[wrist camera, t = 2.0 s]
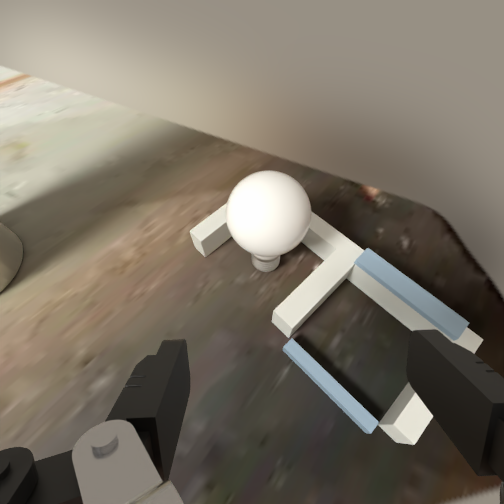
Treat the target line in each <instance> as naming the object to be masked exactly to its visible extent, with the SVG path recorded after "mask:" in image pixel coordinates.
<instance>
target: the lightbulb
mask: <svg viewBox="0 0 504 504" xmlns="http://www.w3.org/2000/svg"><path fill="white" fill-rule="evenodd" d="M226 222H227V226H228V229H229V231H230V234H231V235H232V237H233V239H234V240H235V241H236V242H237V244H238V245H239V246H241V247H242V248H243V249H245V250H246V251H248V252H250V253H251V255H252V263H253V265H254V267H255V268H256V269H258V270H260V271H263V272H269V271H272V270H274V269H275V268H276V267H277V266H278V265H279V262H280V255H282V254H285V253H287V252H289V251H291V250H292V249H294V248H295V247H296V246H297V245H298V244H299V243H300V242H301V241H302V240H303V238H304V237H305V235H306V233H307V231H308V229H309V226H310V222H311V205H310V201H309V198H308V195H307V193H306V191H305V190H304V188H303V187H302V186H301V185H300V184H299V183H298V182H297V181H296V180H295V179H294V178H292V177H291V176H289V175H287V174H285V173H282V172H278V171H260V172H256V173H253V174H251V175H249V176H247V177H245V178H244V179H243V180H241V181H240V182H239V183H238V184H237V185H236V186H235V188H234V189H233V191H232V192H231V194H230V196H229V199H228V202H227V206H226Z"/></svg>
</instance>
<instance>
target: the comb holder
mask: <svg viewBox="0 0 504 504" xmlns="http://www.w3.org/2000/svg"><path fill="white" fill-rule="evenodd" d="M226 206H227V203H226V204H225V205H223V206H222V207H221V208H220V209H218V210H217V211H216V212H214V213H213V214H212V215H210V216H209V217H208V218H206V219H205V220H204V221H202V222H201V223H200V224H198V225H197V226H196V227H194V228H193V229H192V230H190V234H191V237H192V240H193V242H194V245H195V248H196V249H197V250H198V251H199V252H200V253H201V254H202V255H203V256H204V257H207V256H208V255H209V254H211V253H212V252H213V251H214V250H216V249H217V248H218V247H219V246H220V245H222V244H223V243H224V242H225V241H227V240H228V239H229V238H230V237H232V235H231V234H230V231H229V229H228V226H227V222H226ZM301 242H302V243H303V244H304V245H306V246H307V247H308V248H309V249H311V250H312V251H313V252H314V253H316V254H317V255H318V256H319V257H321V258H322V259H323V260H324V262H323V263H322V264H321V265H320V266H319V267H318V268H317V269H316V270H315V271H314V272H313V273H312V274H311V275H310V276H309V277H308V278H306V279H305V280H304V281H303V282H302V283H301V284H300V285H299V286H298V287H297V288H296V289H295V290H294V291H293V292H292V293H291V294H290V295H289V296H288V297H287V298H286V299H285V300H284V301H283V302H282V303H281V304H280V305H279V306H278V307H277V308H276V309H275V310H274V311H273V317H272V323H273V324H275V325H276V326H277V327H278V328H279V329H280V330H281V331H282V332H283V333H284V334H285V335H286V336H287V337H288V338H289V337H290V336H291V335H292V334H293V333H294V332H295V331H296V330H297V329H298V328H299V327H300V326H301V325H302V324H303V323H304V322H305V321H306V320H307V319H308V318H309V317H310V316H311V314H312V313H313V312H314V311H315V310H316V309H317V308H318V307H319V306H320V305H321V304H322V303H323V302H324V301H325V300H326V299H327V298H328V297H329V296H330V295H331V294H332V292H333V291H334V290H335V289H336V288H337V287H338V286H339V285H340V284H341V283H342V282H343V281H344V280H345V279H346V278H347V279H348V280H349V281H350V282H352V283H353V284H354V285H355V286H357V287H358V288H359V289H360V290H362V291H363V292H364V293H365V294H367V295H368V296H369V297H370V298H371V299H373V300H374V301H375V302H376V303H378V304H379V305H380V306H381V307H383V308H384V309H385V310H386V311H388V312H389V313H390V314H391V315H393V316H394V317H395V318H396V319H398V320H399V321H400V322H401V323H403V324H404V325H405V326H406V327H408V328H409V329H410V330H411V331H413V330H429V329H436V330H438V331H440V332H441V333H442V334H443V335H444V336H445V337H447V338H448V339H449V340H450V341H451V342H452V343H456V344H458V345H460V346H462V347H464V348H466V349H467V350H469V351H471V352H473V353H475V352H476V350H477V349H478V347H479V346H480V344H481V343H482V341H483V339H482V338H481V337H479V336H478V335H477V334H475V333H474V332H473V331H471V330H470V329H469V328H467V326H468V324H469V322H468V321H466V320H465V319H464V318H462V317H461V316H460V315H458V314H457V313H456V312H454V311H453V310H452V309H450V308H449V307H447V306H446V305H445V304H443V303H442V302H441V301H439V300H438V299H437V298H435V297H434V296H433V295H431V294H430V293H429V292H427V291H426V290H424V289H423V288H422V287H420V286H419V285H418V284H416V283H415V282H414V281H412V280H411V279H410V278H408V277H407V276H406V275H404V274H403V273H401V272H400V271H399V270H397V269H396V268H395V267H393V266H392V265H391V264H389V263H388V262H387V261H385V260H384V259H383V258H381V257H380V256H378V255H377V254H376V253H374V252H373V251H372V250H370V249H369V248H367V249H366V250H365V251H364V250H363V249H361V248H360V247H359V246H357V245H356V244H355V243H353V242H352V241H351V240H349V239H348V238H347V237H345V236H344V235H343V234H341V233H340V232H339V231H337V230H336V229H335V228H333V227H332V226H331V225H329V224H328V223H327V222H325V221H324V220H323V219H321V218H320V217H319V216H317V215H316V214H314V213H313V212H312V211H311V222H310V226H309V229H308V231H307V233H306V235H305V237H304V238H303V240H302V241H301ZM283 351H284V352H285V353H286V354H287V355H288V356H289V357H290V358H291V359H292V360H293V361H294V362H295V363H296V364H297V365H298V366H299V367H300V368H301V369H302V370H303V371H304V372H305V373H306V374H307V375H308V376H309V377H310V378H311V379H312V380H313V381H314V382H315V383H316V384H317V385H318V386H319V387H320V388H321V389H322V390H323V391H324V392H325V393H326V394H327V395H328V396H329V397H330V398H331V399H332V400H333V401H334V402H335V403H336V404H337V405H338V406H339V407H340V408H341V409H342V410H343V411H344V412H345V413H346V414H347V415H348V416H349V417H350V418H351V419H352V420H353V421H354V422H355V423H356V424H357V425H358V426H359V427H360V428H361V429H362V430H363V431H364V432H365V433H370V434H371V433H372V431H373V430H374V429H375V427H376V426H377V425H379V426H380V427H381V428H382V429H383V430H384V431H385V432H386V433H387V434H388V435H389V436H390V437H391V438H392V439H393V440H394V441H395V442H396V443H404V444H412V445H415V443H416V442H417V440H418V439H419V437H420V436H421V434H422V433H423V431H424V430H425V428H426V426H427V425H428V423H429V422H430V420H431V419H432V417H433V415H432V414H431V413H430V411H429V410H428V409H427V407H426V406H425V405H424V403H423V402H422V400H421V399H420V398H419V396H418V395H417V394H416V392H415V391H414V390H413V388H412V387H411V385H410V383H409V382H408V384H407V385H406V386H405V388H404V389H403V390H402V392H401V393H400V395H399V396H398V397H397V399H396V400H395V401H394V403H393V404H392V406H391V407H390V408H389V410H388V411H387V413H386V414H385V415H384V417H383V418H382V419H381V421H380V422H378V421H377V420H376V419H375V418H374V417H373V416H372V415H371V414H370V413H369V412H368V411H367V410H366V409H365V408H364V407H363V406H362V405H361V404H360V403H359V402H358V401H357V400H355V399H354V398H353V397H352V396H351V395H350V394H349V393H348V392H347V391H346V390H345V389H344V388H343V387H342V386H341V385H340V384H339V383H338V382H337V381H336V380H335V379H334V378H333V377H332V376H331V375H330V374H329V373H328V372H326V371H325V370H324V369H323V368H322V367H321V366H320V365H319V364H318V363H317V362H316V361H315V360H314V359H313V358H312V357H311V356H310V355H309V354H308V353H307V352H306V351H305V350H304V349H303V348H302V347H301V346H300V345H299V344H297V343H296V342H295V341H294V340H293V339H291V340H290V341H289V342H288V343H287V344H286V345H285V346H284V347H283ZM378 423H379V424H378Z"/></svg>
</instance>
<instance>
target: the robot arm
mask: <svg viewBox="0 0 504 504" xmlns="http://www.w3.org/2000/svg"><path fill="white" fill-rule="evenodd" d="M22 258H23V246H22V243H21V240H20V239H19V238H18V236H17V235H16V234H15V233H13V232H12V231H11V230H10V229H8V228H7V227H6V226H5V225H3V224H2V223H1V222H0V292H1V291H2V290H3V289H4V288H5V287H6V286H7V285H8V284H9V283H10V282H11V280H12V279H13V278H14V276H15V275H16V273H17V271H18V269H19V267H20V265H21V262H22ZM406 372H407V377H408V381H409V383H410V385H411V387H412V388H413V390H414V391H415V392H416V394H417V395H418V396H419V398H420V399H421V400H422V402H423V403H424V405H425V406H426V407H427V409H428V410H429V411H430V413H431V414H432V415H433V417H434V418H435V419H436V421H437V422H438V423H439V425H440V426H441V427H442V429H443V430H444V431H445V433H446V434H447V435H448V437H449V438H450V439H451V441H452V442H453V443H454V445H455V446H456V447H457V449H458V450H459V451H460V453H461V454H462V455H463V457H464V458H465V459H466V461H467V462H468V463H469V465H470V466H471V467H472V469H473V470H474V471H475V473H476V474H477V475H478V476H491V475H498V477H499V478H500V479H501V480H502V483H501V487H500V504H504V378H503V377H502V376H500V375H499V374H498V373H497V372H494V370H493V369H492V368H491V367H490V366H488V365H487V364H484V362H483V361H482V360H481V359H480V358H479V357H477V356H476V355H475V354H474V353H473V352H471V351H469V350H467V349H466V348H464V347H462V346H460V345H458V344H456V343H452V342H451V341H450V340H449V339H448V338H447V337H445V336H444V335H443V334H442V333H441V332H440V331H438V330H436V329H429V330H413V331H412V332H411V334H410V341H409V349H408V358H407V368H406ZM189 393H190V371H189V362H188V353H187V344H186V340H185V339H179V340H163V342H162V344H161V346H160V348H159V350H158V352H157V354H156V355H147V356H146V357H145V358H144V359H143V360H142V361H140V362H139V363H138V364H137V365H136V367H135V368H134V370H133V372H132V374H131V376H130V378H129V379H128V381H127V383H126V385H125V388H123V390H122V392H121V394H120V396H119V397H118V399H117V401H116V403H115V405H114V406H113V408H112V410H111V412H110V414H109V415H108V417H107V419H106V421H105V422H103V423H101V424H98V425H96V426H95V427H93V428H91V429H90V430H88V431H87V432H86V433H85V434H84V435H83V436H82V437H81V438H80V439H79V440H78V441H77V443H76V444H75V446H74V448H73V450H70V451H67V452H65V453H61V454H58V455H55V456H51V457H48V458H45V459H42V460H38V461H34V457H33V454H32V452H31V451H30V450H29V449H27V448H23V447H14V448H9V449H5V450H2V451H0V504H184V503H183V501H182V500H181V498H180V496H179V494H178V492H177V491H176V489H175V487H174V485H173V484H172V483H171V481H170V480H168V478H169V474H170V470H171V466H172V462H173V458H174V454H175V450H176V446H177V442H178V438H179V434H180V430H181V426H182V422H183V418H184V414H185V410H186V406H187V402H188V398H189Z"/></svg>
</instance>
